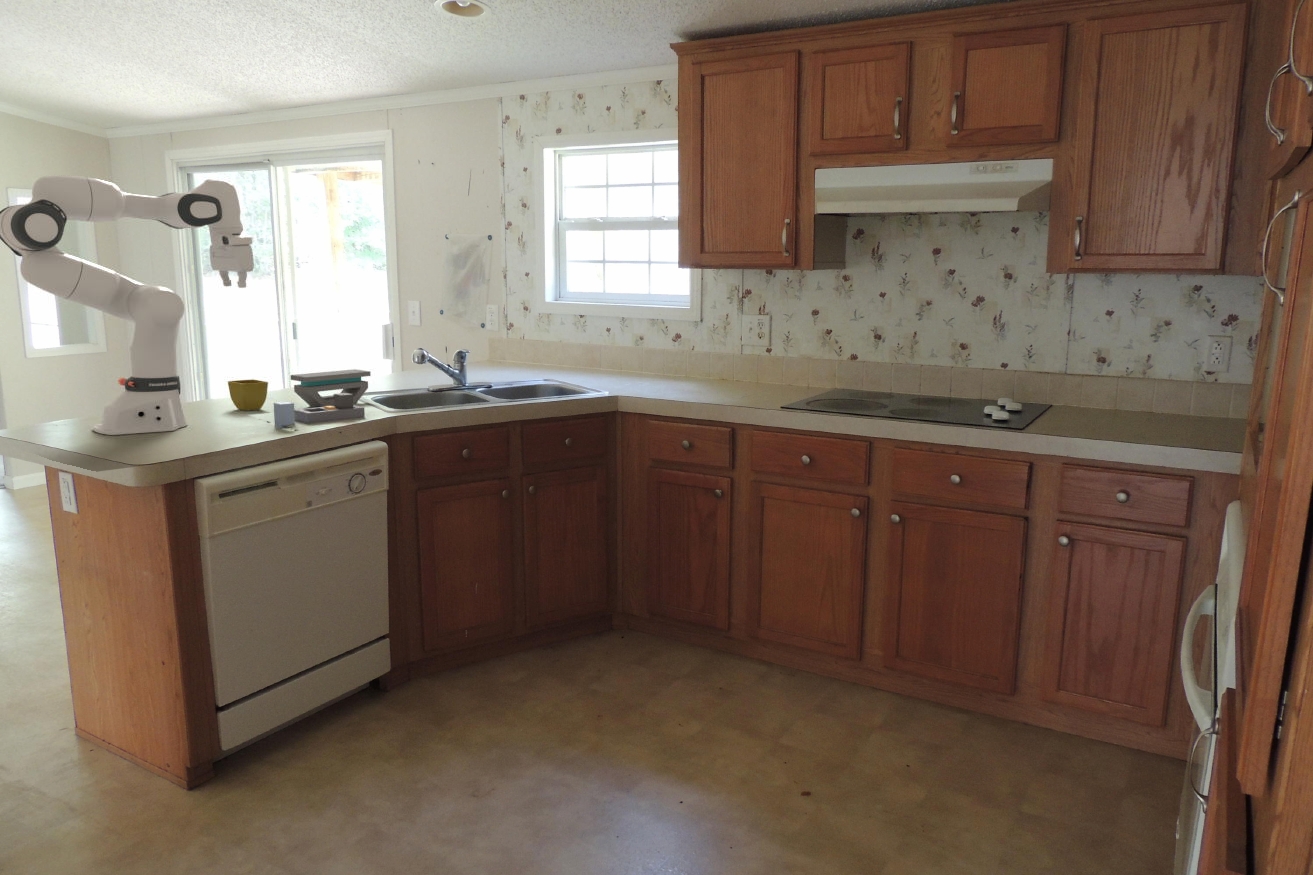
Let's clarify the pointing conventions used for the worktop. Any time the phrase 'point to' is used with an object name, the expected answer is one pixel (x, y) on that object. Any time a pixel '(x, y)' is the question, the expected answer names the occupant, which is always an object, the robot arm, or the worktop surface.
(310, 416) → the strip
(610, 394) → the worktop surface
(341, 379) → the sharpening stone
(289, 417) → the plug
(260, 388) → the flower pot
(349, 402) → the twin plug
